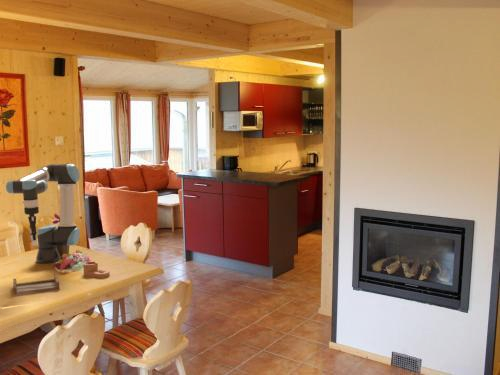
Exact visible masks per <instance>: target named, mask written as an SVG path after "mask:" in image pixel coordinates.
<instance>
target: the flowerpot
mask: <svg viewBox="0 0 500 375" xmlns="http://www.w3.org/2000/svg"><path fill="white" fill-rule="evenodd" d="M53 217H55V220H53V221H52V225H55V224H58V225H59V224H60V215H58V214H56V213H55V214H54V216H53ZM57 249H58V252H59V254H60V257H62V256H61V255H63V254H70V246H67V245H57Z"/></svg>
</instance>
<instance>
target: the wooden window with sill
mask: <svg viewBox="0 0 500 375" xmlns="http://www.w3.org/2000/svg"><path fill="white" fill-rule="evenodd" d="M12 283H13V284H12V287H13V288H12V290H13V297H17V296H24V295H32V294H38V293H45V292H52V291H53V292H54V291H60V279H59V276H58V273H54V274H53V278H51V279H44V280H43V279H42V280H36V281H27V282H20V283H17V278H13V280H12Z"/></svg>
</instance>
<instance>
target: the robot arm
mask: <svg viewBox="0 0 500 375" xmlns="http://www.w3.org/2000/svg"><path fill="white" fill-rule="evenodd" d="M79 180H80V170H79V168H78V166H77V165H76V164H73V163H52V164H48V165H45V166H42V167H40V168H38V169H36V171H34V172H33V173H30V174H28V175H26V176H24V177H21V178H19V179H16V180H9V181H7V182H6V184H5V189H6V193H9V194H13V195H15V194H22V197H23V198H22V199H23V201H22V204H23V206H24V207H23V209H24V210H23V211H24V214H25V215H27V216H28V217H27V218H28V222H29V232H30V234H29V235H30V241H31V245H32V247H35V246H38V247H37V248H38V250H37V255H36V257H35V262H36V263H39V264H51V263H56V262H59V260H60V259H61V256H60V254H59V252H58V249H57V245H67V246H69V247H70V246H75V245H77V244H78V242H79V240H80V235H81V232H80V228H78V227H77V224H76V223H75V195H74V194H75V186H76V185H77V182H79ZM48 182H57V185H58V187H59V202H60V203H59V205H60V206H59V210H60V211H59V217H60V222H59V223H60V224H59V223H58V225H57V226H56V225H55V224H52V225H45V226H41V227H39V228H38V229H37V225H36V224H37V216H36V214H39V212H40V211H39V208H40V207H39V197H38V195H39V194H43V193H45V192H46V191H48V187H49V185H48Z"/></svg>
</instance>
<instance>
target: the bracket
mask: <svg viewBox="0 0 500 375" xmlns="http://www.w3.org/2000/svg"><path fill="white" fill-rule="evenodd" d="M83 267H84V270H83V275H84V276H86V277H91V278H97V279H104V278H105V279H106V278H108V277H110V275H111V274H110V273H111V272H110V270H108V269H104V268H103V269H102V268H99V264H98V261H95V260H94V261H92V260H91V261H89V262H88V263H87V262H85V263H83Z"/></svg>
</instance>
